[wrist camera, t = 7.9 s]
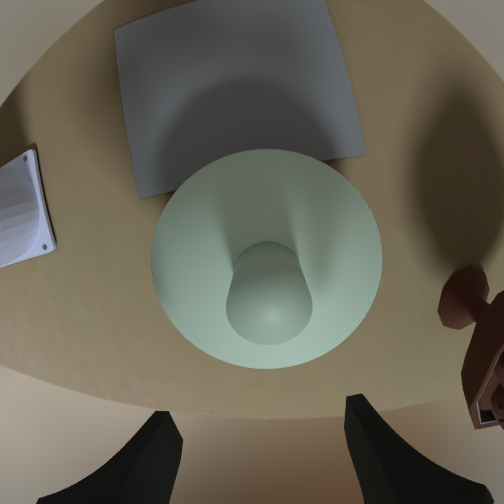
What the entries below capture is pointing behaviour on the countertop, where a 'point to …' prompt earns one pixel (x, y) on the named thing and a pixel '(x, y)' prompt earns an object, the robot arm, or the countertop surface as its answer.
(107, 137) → the countertop surface
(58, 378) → the countertop surface
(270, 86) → the placemat
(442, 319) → the ice cream bowl
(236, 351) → the lid
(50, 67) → the countertop surface
